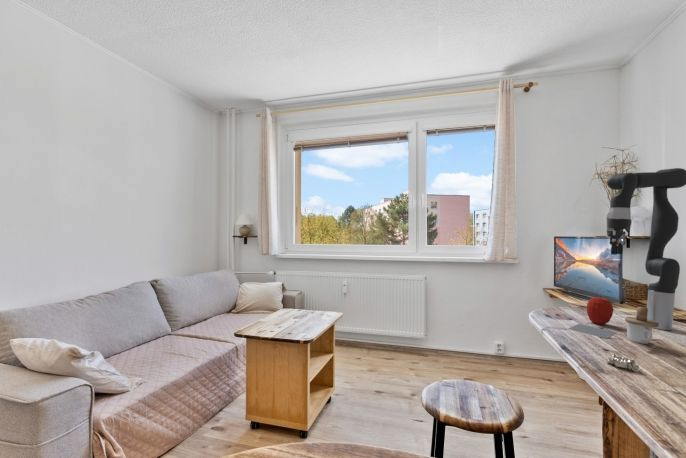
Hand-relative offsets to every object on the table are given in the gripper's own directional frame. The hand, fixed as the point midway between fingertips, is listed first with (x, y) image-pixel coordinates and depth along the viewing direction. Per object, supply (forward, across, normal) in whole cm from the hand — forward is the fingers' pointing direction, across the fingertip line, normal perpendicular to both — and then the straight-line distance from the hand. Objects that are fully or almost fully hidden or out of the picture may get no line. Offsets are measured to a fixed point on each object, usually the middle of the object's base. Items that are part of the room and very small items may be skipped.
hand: (616, 254), depth 150 cm
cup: (+34, +12, +12) cm, 38 cm away
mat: (+34, +12, -4) cm, 36 cm away
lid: (+26, +12, +12) cm, 31 cm away
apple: (+34, -6, -6) cm, 35 cm away
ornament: (+35, +50, +14) cm, 62 cm away
